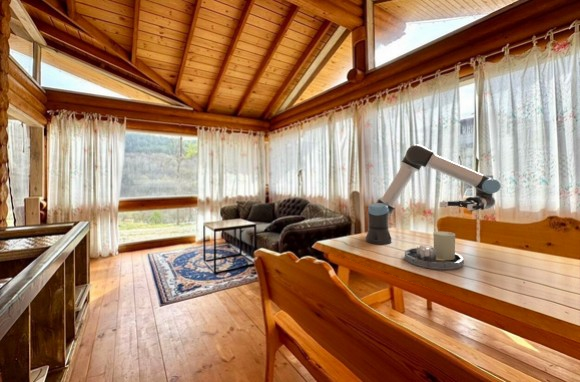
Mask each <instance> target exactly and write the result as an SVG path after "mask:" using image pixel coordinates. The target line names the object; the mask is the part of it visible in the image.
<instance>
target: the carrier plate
mask: <svg viewBox="0 0 580 382" xmlns="http://www.w3.org/2000/svg"><path fill="white" fill-rule="evenodd" d="M404 260H405V262H407V263H409V264H411V265H413V266H415V267H418V268H419V267H420V268H422V269H427V270H436V271H454V270H459V269H461V268H463V266H464V264H465V261H464V260H465V259H464V258H463V256H462V255H460V254H459V253H456V252H455V259H454V260H442V259H438V258H436V248H434V247H433V246H431V245H428V246H426V245H425V246H424V245H419V246H416V247H413V248H412V247H411V248H409V249H406V250H404Z"/></svg>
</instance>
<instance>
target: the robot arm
mask: <svg viewBox="0 0 580 382" xmlns="http://www.w3.org/2000/svg"><path fill="white" fill-rule="evenodd" d="M422 167H423V168H430V169H433V170H434V171H436V172H437V171H438V172H439V173H442V174H444V175H446V176H448V177H451V178H453V179H456V180H457V181H459V182H462V183H463V184H467V185H469V186H471V187H473V188H475V190H476V191H475V196H469V197H467V198H466V199H463V200H442V201H439V208H448V207H459V208H466V210H467V211H472V212H473V211H476V212H477V211H479V210H482V211H484V210H487V209H491V208H492V207H493V208H494V206H495V204H496V200H495V197H493V194H496V193H497V192H499V191H500V190H501V187H502V186H501V185H502V184H501V183H500V181H499V180H497V179H495V178H494V175H493V174H482V173H480V172H477V171H475V170H473V169H470V168H468V167H466V166H463V165H460V164H459V163H456V162H454V161H451V160H449V159H447V158H444V157H442V156H441V155H440V156H439V155H438V154H436V152H435V151H433V150H431V149H428V148H427V147H426V146H424V145H422V144H413V145H411V146H409V147H408V149H407V150H406V152H405V155H404V157H403V159H402V160H401V167H400V168H399V170H398V171H397V173H396V175H395V177H394V178H393V180H392V181H391V183H390V184H389V185H388V186H389V187H388V188H387V190H386V191H385V193H384V194H383V196H382V197H379V198H378V200H377V202H375V203H370V204H369V205H368V208H367V209H368V213H367V214H368V228H367V229H368V230H367V233H366V237H365V242H367V243H369V244H372V245H373V244H374V245H389V244H391V243H392V236H391V234H390V230H389V218H390V217H391V216H392V213H393V212H394V211H395V208H396V203H397V201H398V199H399V198H400V196H401V194H402V193H403V191H405V188H406V187H407V185H408V183H409V182H410V181H411V179H412V177H413V176H414V174H415V173H416V172H419V171H420V170H421V168H422Z"/></svg>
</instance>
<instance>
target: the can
mask: <svg viewBox="0 0 580 382" xmlns="http://www.w3.org/2000/svg"><path fill="white" fill-rule="evenodd" d="M433 248H436V258H438V259H442V260H454V259H455V253H456V233H454V232H450V231H434V232H433Z"/></svg>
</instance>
